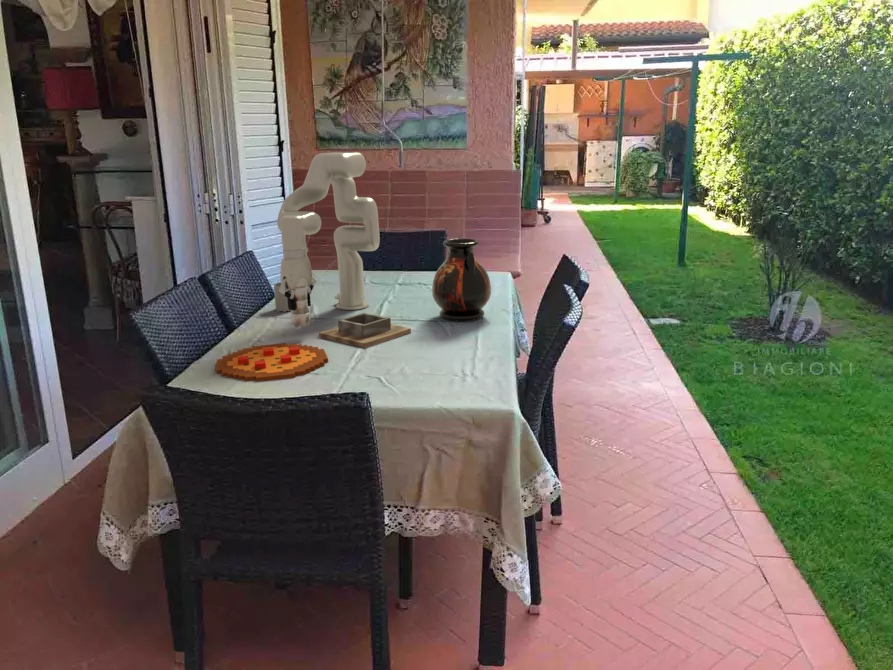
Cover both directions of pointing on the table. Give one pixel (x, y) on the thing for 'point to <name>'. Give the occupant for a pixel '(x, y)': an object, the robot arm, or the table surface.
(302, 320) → the plastic bottle
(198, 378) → the table surface
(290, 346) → the pizza
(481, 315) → the amphora vase
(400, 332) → the collar board
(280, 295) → the cup
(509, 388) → the table surface
